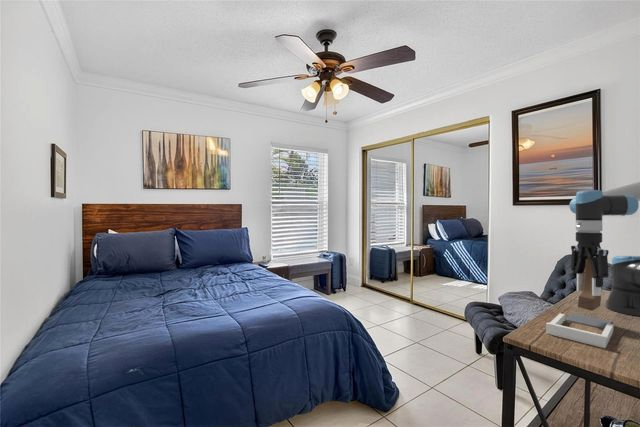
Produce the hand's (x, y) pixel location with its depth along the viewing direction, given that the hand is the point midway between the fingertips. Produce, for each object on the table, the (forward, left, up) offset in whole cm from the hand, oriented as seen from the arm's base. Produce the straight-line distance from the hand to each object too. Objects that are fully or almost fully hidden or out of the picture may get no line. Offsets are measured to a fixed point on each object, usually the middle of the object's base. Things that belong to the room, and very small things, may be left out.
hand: (588, 292), depth 115 cm
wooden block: (0, 0, -5) cm, 5 cm away
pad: (-1, -1, -11) cm, 11 cm away
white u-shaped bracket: (+11, +9, -11) cm, 18 cm away
